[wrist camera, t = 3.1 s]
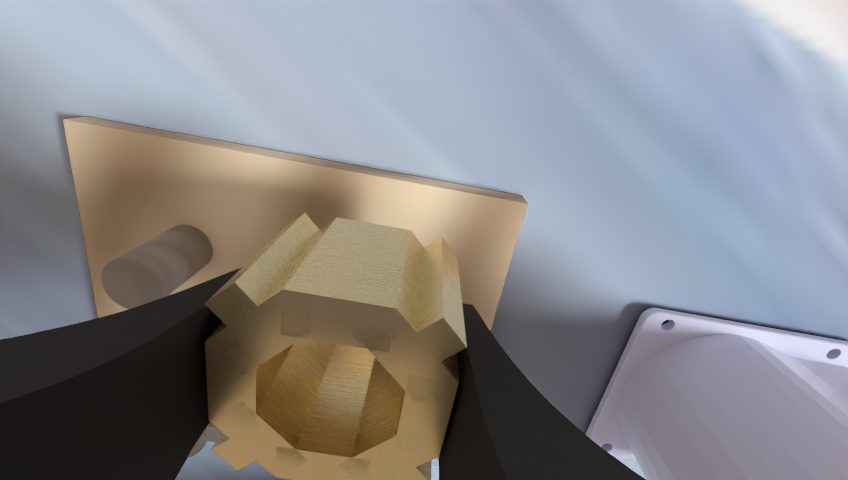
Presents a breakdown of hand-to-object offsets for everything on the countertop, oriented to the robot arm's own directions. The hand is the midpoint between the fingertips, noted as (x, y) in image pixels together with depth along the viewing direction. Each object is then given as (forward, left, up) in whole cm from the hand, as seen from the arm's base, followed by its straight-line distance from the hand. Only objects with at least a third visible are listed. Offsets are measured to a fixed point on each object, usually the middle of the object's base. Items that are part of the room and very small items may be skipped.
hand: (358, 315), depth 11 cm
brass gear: (0, 0, -1) cm, 1 cm away
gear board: (+3, +3, -5) cm, 7 cm away
